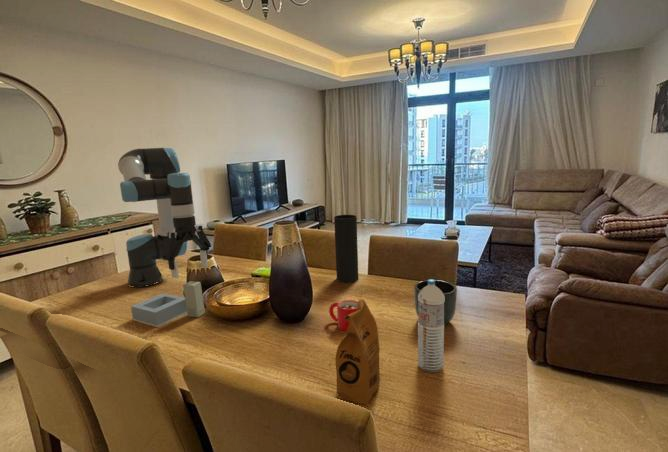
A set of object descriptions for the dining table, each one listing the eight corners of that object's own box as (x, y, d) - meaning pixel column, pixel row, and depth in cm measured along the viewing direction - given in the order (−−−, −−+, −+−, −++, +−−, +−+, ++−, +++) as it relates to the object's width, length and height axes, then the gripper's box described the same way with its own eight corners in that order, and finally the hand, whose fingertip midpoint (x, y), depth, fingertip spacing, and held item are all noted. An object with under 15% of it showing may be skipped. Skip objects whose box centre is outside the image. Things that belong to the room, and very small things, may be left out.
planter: (411, 328, 123) (411, 292, 120) (417, 311, 136) (417, 278, 133) (455, 334, 118) (456, 296, 116) (456, 315, 131) (457, 281, 128)
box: (205, 313, 142) (201, 281, 140) (198, 318, 138) (193, 285, 136) (194, 311, 144) (190, 280, 141) (186, 316, 140) (182, 284, 137)
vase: (358, 282, 168) (356, 218, 162) (336, 283, 168) (334, 219, 162) (357, 275, 178) (355, 214, 172) (336, 276, 178) (334, 215, 172)
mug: (335, 316, 134) (334, 296, 133) (364, 323, 128) (364, 302, 127) (323, 326, 128) (322, 304, 126) (354, 333, 122) (353, 311, 120)
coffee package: (330, 398, 90) (326, 314, 86) (350, 371, 101) (348, 295, 96) (368, 409, 86) (365, 321, 81) (385, 379, 96) (384, 300, 92)
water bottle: (414, 360, 104) (414, 276, 99) (438, 358, 105) (439, 275, 100) (422, 374, 98) (422, 285, 93) (447, 372, 98) (449, 283, 93)
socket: (165, 306, 151) (163, 293, 150) (189, 311, 144) (187, 298, 143) (133, 320, 139) (131, 306, 138) (157, 327, 132) (155, 312, 131)
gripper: (202, 210, 146) (208, 261, 150) (145, 221, 124) (154, 281, 128) (216, 210, 142) (222, 263, 146) (160, 222, 121) (169, 284, 125)
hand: (190, 272), depth 137 cm, fingers open, 13 cm apart
